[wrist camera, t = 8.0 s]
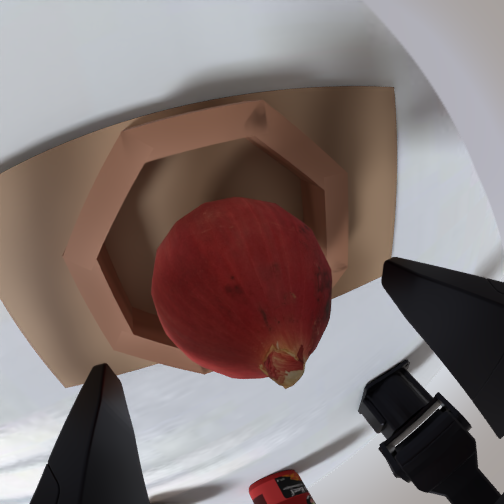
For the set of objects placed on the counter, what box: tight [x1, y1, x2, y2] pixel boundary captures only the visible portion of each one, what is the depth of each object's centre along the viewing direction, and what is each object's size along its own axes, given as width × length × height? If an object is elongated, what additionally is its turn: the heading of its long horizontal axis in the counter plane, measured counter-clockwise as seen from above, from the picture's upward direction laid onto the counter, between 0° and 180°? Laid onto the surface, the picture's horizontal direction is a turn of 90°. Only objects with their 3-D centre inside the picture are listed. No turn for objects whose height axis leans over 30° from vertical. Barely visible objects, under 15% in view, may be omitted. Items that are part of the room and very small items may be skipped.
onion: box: [151, 197, 332, 389], centre depth 10 cm, size 6×6×8 cm
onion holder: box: [0, 86, 397, 388], centre depth 13 cm, size 22×12×3 cm, turn 99°
